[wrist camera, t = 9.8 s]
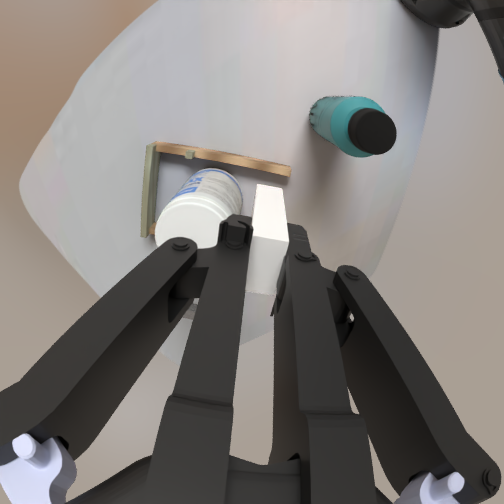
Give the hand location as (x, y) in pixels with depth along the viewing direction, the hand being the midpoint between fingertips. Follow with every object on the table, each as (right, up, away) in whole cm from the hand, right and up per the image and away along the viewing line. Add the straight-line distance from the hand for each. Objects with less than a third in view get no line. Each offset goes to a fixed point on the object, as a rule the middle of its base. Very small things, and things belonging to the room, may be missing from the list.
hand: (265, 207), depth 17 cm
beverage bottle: (+10, +17, +20) cm, 28 cm away
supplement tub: (-7, +6, +27) cm, 29 cm away
